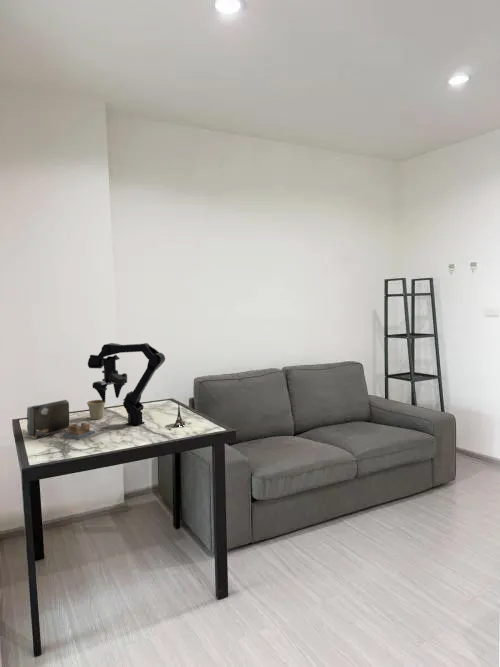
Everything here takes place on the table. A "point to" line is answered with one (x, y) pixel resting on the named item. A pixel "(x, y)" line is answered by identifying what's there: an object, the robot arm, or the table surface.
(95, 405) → the flower pot
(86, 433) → the hub
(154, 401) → the table surface
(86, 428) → the collar
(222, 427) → the table surface
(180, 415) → the eiffel tower figurine
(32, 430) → the radio
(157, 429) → the table surface
